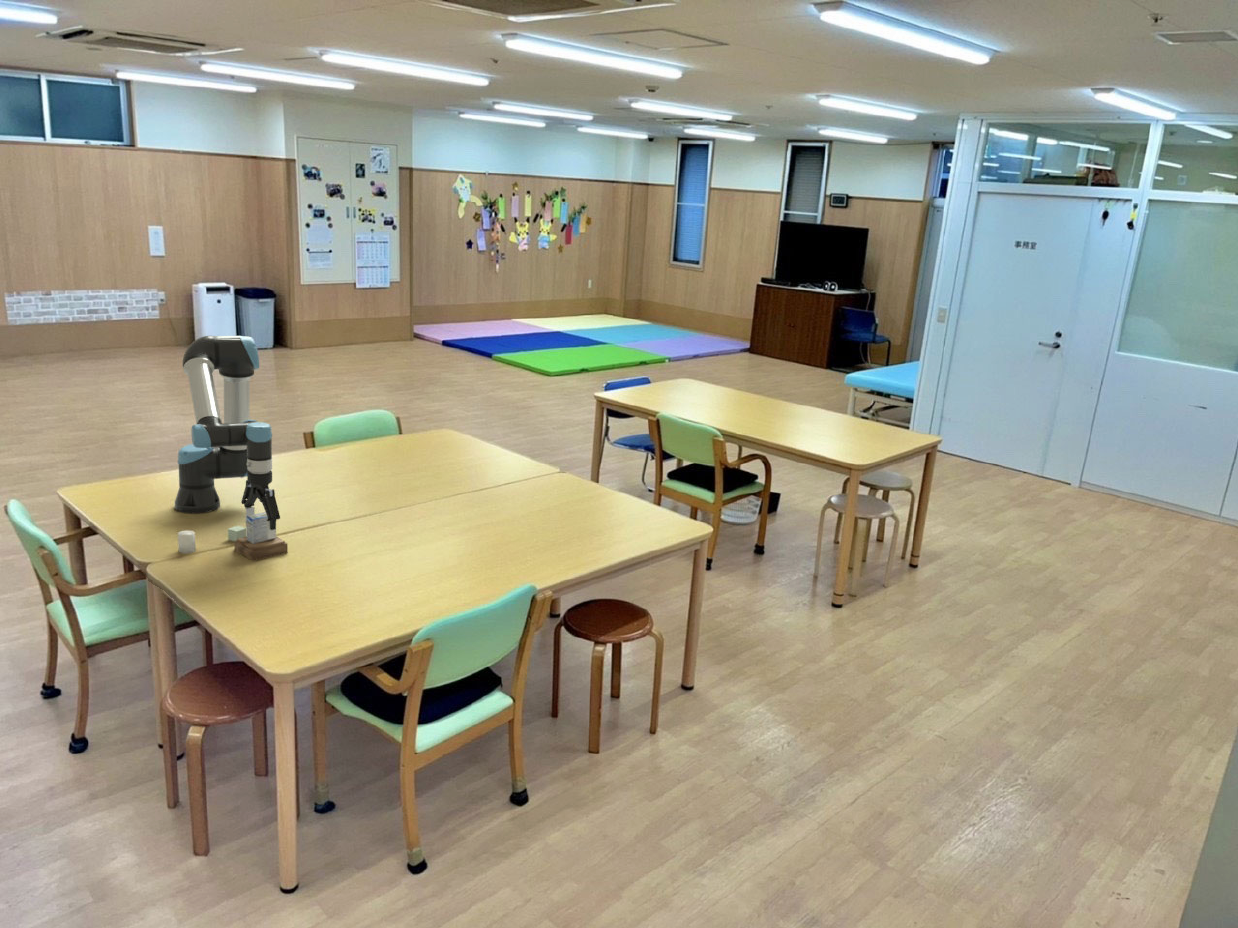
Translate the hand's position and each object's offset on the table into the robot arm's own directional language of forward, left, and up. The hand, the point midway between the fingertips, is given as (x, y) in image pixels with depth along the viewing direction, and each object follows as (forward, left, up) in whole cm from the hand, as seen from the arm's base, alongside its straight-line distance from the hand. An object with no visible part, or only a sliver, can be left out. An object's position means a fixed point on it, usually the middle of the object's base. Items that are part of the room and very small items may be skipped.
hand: (260, 532), depth 298 cm
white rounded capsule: (-14, -18, -7) cm, 24 cm away
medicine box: (0, 0, -3) cm, 3 cm away
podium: (0, 0, -7) cm, 7 cm away
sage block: (-14, -1, -7) cm, 16 cm away
